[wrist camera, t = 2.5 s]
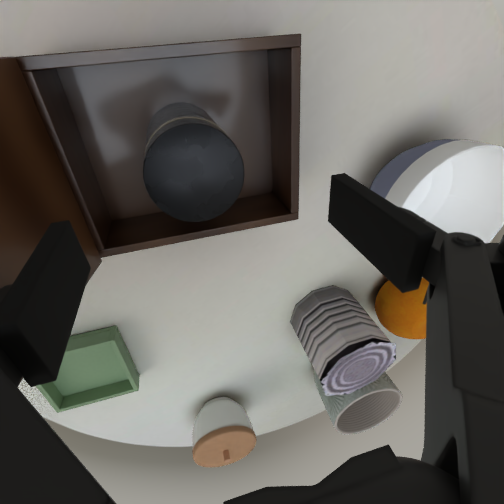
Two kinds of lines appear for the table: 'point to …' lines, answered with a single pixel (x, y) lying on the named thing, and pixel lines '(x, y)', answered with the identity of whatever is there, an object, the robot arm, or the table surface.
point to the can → (341, 340)
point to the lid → (30, 180)
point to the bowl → (449, 185)
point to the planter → (362, 405)
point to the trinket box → (222, 433)
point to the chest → (140, 114)
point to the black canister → (190, 164)
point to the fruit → (403, 310)
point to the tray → (92, 371)
